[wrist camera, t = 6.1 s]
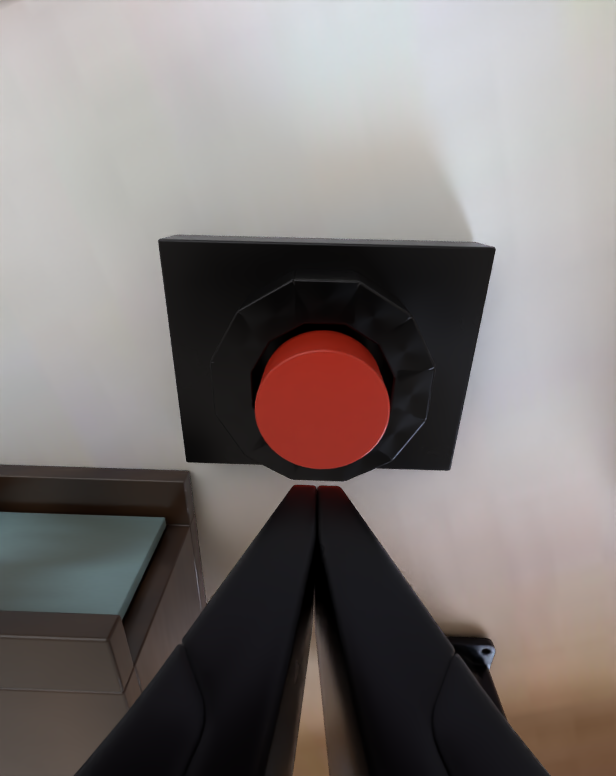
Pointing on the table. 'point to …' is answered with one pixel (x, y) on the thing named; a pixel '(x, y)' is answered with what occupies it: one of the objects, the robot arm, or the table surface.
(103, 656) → the display cabinet
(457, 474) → the table surface
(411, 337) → the button housing
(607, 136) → the table surface
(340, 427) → the red button
